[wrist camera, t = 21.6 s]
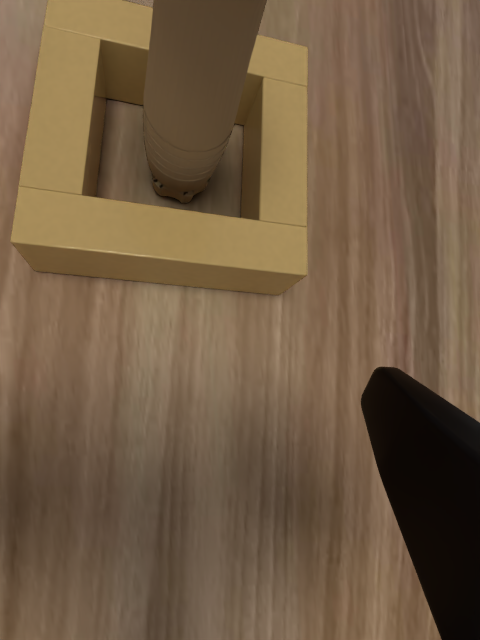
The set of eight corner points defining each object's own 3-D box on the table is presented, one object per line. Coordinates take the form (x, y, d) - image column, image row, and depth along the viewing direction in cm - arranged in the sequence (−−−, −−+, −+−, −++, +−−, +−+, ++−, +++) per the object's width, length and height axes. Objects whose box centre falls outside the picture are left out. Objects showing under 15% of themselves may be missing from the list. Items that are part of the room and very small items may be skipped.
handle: (185, 246, 22) (271, -26, 8) (104, 160, 22) (43, -279, 8) (244, 196, 24) (408, -108, 9) (169, 115, 23) (219, -324, 9)
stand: (279, 295, 23) (307, 275, 19) (33, 271, 20) (9, 241, 16) (282, 98, 26) (308, 46, 22) (64, 50, 23) (50, -20, 19)
